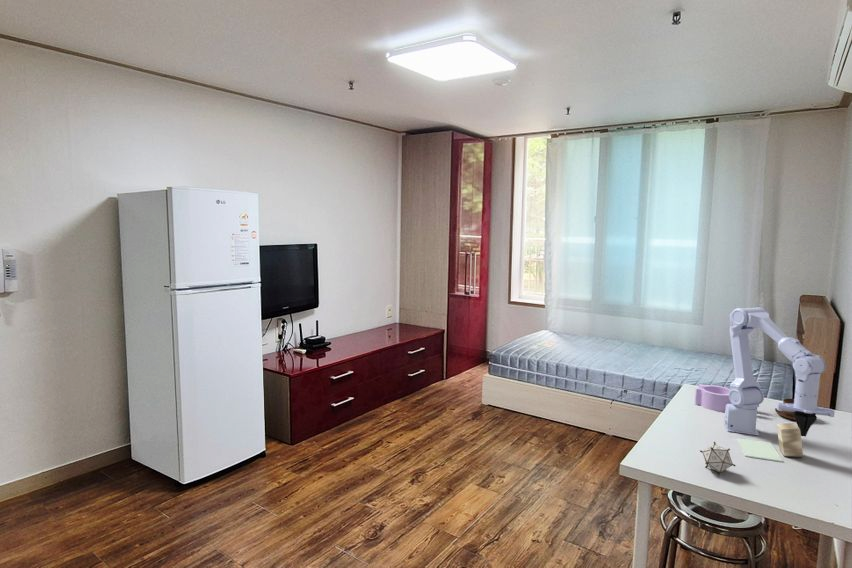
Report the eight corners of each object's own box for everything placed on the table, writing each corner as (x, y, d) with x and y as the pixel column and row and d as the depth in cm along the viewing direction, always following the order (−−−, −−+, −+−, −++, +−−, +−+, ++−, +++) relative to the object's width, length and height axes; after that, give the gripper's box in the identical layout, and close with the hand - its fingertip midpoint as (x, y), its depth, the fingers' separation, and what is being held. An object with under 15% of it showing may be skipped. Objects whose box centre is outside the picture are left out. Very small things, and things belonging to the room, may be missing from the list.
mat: (745, 456, 157) (745, 455, 157) (736, 439, 170) (736, 438, 170) (782, 462, 154) (782, 460, 154) (770, 443, 167) (770, 442, 167)
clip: (755, 409, 198) (756, 392, 198) (751, 418, 189) (752, 401, 188) (699, 398, 211) (700, 382, 210) (692, 406, 202) (693, 390, 201)
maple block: (784, 456, 157) (781, 429, 157) (779, 450, 162) (776, 423, 161) (803, 457, 155) (800, 429, 155) (798, 450, 160) (795, 423, 160)
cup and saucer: (810, 415, 193) (812, 400, 192) (815, 426, 182) (817, 409, 182) (773, 409, 199) (774, 394, 198) (776, 419, 188) (777, 403, 188)
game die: (710, 479, 151) (704, 445, 155) (741, 478, 145) (734, 443, 150) (699, 473, 145) (694, 439, 150) (731, 472, 140) (724, 436, 145)
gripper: (782, 394, 154) (778, 436, 156) (840, 400, 149) (835, 443, 151) (776, 387, 161) (772, 427, 163) (831, 393, 156) (826, 434, 157)
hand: (802, 435), depth 157 cm, fingers closed
